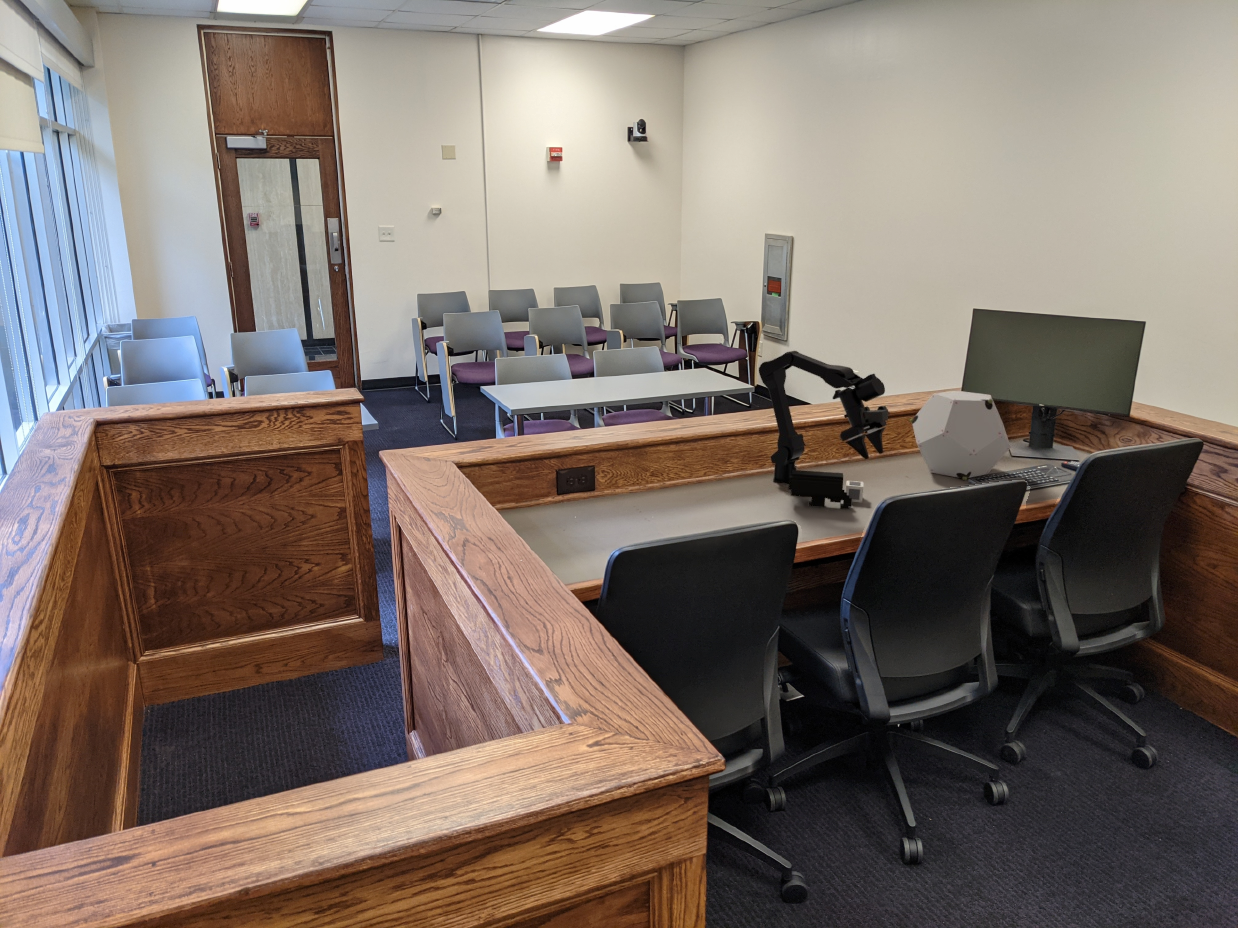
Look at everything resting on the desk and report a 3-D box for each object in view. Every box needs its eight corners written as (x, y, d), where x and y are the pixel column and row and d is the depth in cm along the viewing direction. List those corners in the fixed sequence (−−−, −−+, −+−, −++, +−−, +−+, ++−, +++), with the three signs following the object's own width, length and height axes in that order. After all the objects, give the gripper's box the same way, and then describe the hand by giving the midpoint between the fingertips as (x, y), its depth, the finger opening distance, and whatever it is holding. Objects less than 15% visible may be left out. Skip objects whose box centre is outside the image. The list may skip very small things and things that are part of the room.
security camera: (851, 511, 256) (854, 479, 253) (787, 507, 259) (789, 475, 256) (850, 504, 262) (853, 472, 259) (787, 499, 266) (790, 468, 263)
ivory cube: (844, 501, 265) (846, 485, 263) (845, 495, 270) (846, 480, 268) (862, 502, 264) (863, 486, 262) (862, 497, 268) (863, 481, 267)
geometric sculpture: (967, 507, 281) (932, 432, 271) (916, 481, 309) (882, 412, 299) (1042, 456, 283) (1010, 379, 273) (984, 435, 311) (953, 364, 301)
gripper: (862, 401, 248) (883, 452, 246) (891, 393, 261) (912, 441, 260) (830, 415, 256) (850, 465, 254) (860, 407, 269) (880, 454, 268)
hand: (874, 456), depth 259 cm, fingers open, 9 cm apart
